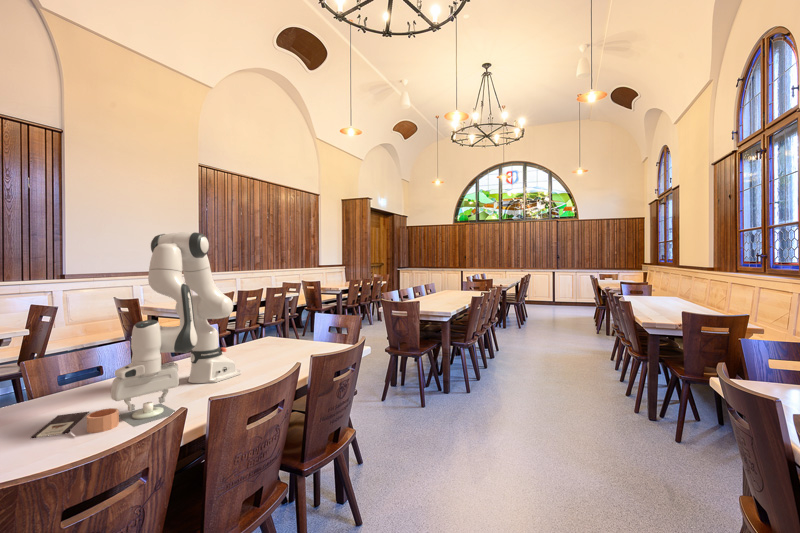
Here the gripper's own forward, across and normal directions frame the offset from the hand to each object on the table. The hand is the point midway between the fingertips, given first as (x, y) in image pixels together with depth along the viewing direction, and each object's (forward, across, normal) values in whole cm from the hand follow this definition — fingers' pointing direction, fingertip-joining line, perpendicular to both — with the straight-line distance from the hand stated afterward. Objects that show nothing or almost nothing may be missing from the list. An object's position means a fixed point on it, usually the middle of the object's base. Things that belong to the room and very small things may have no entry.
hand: (147, 406), depth 133 cm
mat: (+3, 0, 0) cm, 3 cm away
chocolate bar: (+4, +20, -15) cm, 25 cm away
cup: (+4, +13, 0) cm, 13 cm away
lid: (+3, 0, 0) cm, 3 cm away
